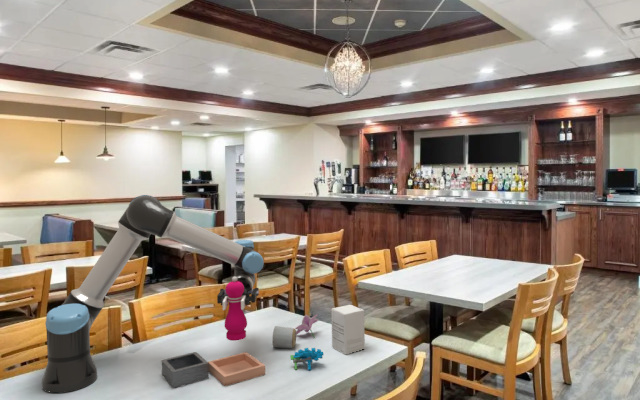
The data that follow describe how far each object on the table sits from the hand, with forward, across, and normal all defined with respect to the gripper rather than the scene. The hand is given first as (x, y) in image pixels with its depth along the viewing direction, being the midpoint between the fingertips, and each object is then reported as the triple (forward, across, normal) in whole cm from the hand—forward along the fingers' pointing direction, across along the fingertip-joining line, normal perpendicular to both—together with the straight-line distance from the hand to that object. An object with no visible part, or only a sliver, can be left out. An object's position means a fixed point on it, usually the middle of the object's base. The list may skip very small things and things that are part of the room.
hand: (233, 305), depth 141 cm
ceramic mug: (-27, -15, -24) cm, 39 cm away
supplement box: (-22, -38, -24) cm, 51 cm away
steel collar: (-3, +16, -24) cm, 29 cm away
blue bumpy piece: (-8, -23, -24) cm, 34 cm away
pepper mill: (-5, 0, -12) cm, 13 cm away
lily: (-37, -24, -24) cm, 50 cm away
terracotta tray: (-5, 0, -24) cm, 24 cm away
